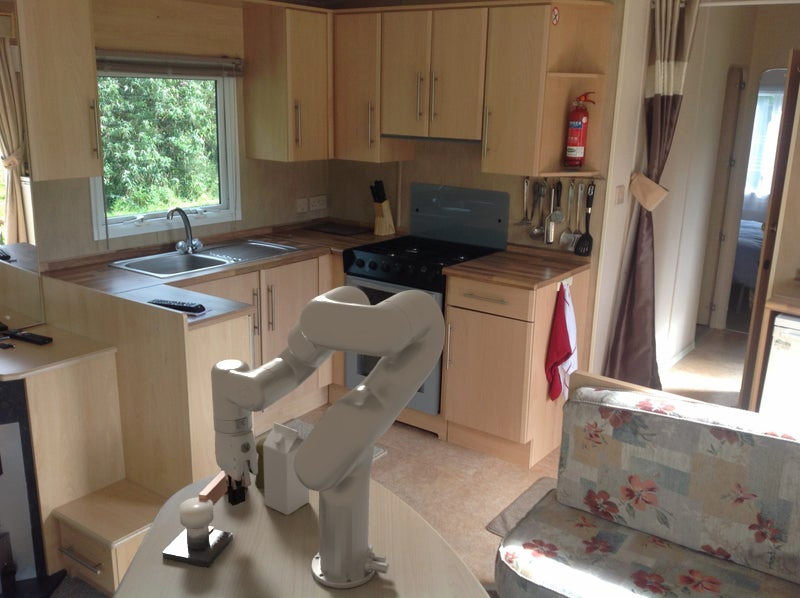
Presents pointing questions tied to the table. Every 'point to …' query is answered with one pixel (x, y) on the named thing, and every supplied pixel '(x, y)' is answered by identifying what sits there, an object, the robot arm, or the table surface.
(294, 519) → the table surface
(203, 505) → the orange bar with ball
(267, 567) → the table surface
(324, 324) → the robot arm
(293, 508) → the milk carton
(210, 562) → the coupling base
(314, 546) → the table surface
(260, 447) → the olive pear
